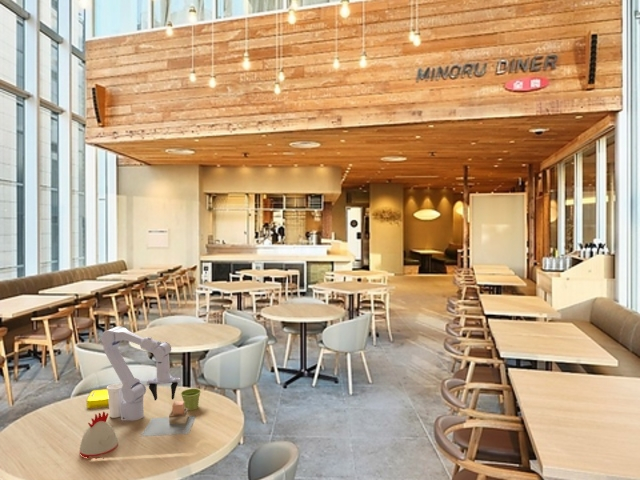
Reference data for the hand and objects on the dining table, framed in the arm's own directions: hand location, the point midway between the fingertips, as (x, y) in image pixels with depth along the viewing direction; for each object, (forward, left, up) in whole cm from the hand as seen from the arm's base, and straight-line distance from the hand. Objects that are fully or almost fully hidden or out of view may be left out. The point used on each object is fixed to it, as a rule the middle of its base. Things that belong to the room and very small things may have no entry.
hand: (164, 399), depth 213 cm
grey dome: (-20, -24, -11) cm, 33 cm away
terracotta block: (+7, -2, -6) cm, 9 cm away
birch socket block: (+7, -2, -9) cm, 12 cm away
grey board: (+4, -7, -10) cm, 13 cm away
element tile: (-36, +28, -11) cm, 47 cm away
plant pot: (+10, +12, -11) cm, 19 cm away
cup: (-24, +9, -11) cm, 28 cm away
